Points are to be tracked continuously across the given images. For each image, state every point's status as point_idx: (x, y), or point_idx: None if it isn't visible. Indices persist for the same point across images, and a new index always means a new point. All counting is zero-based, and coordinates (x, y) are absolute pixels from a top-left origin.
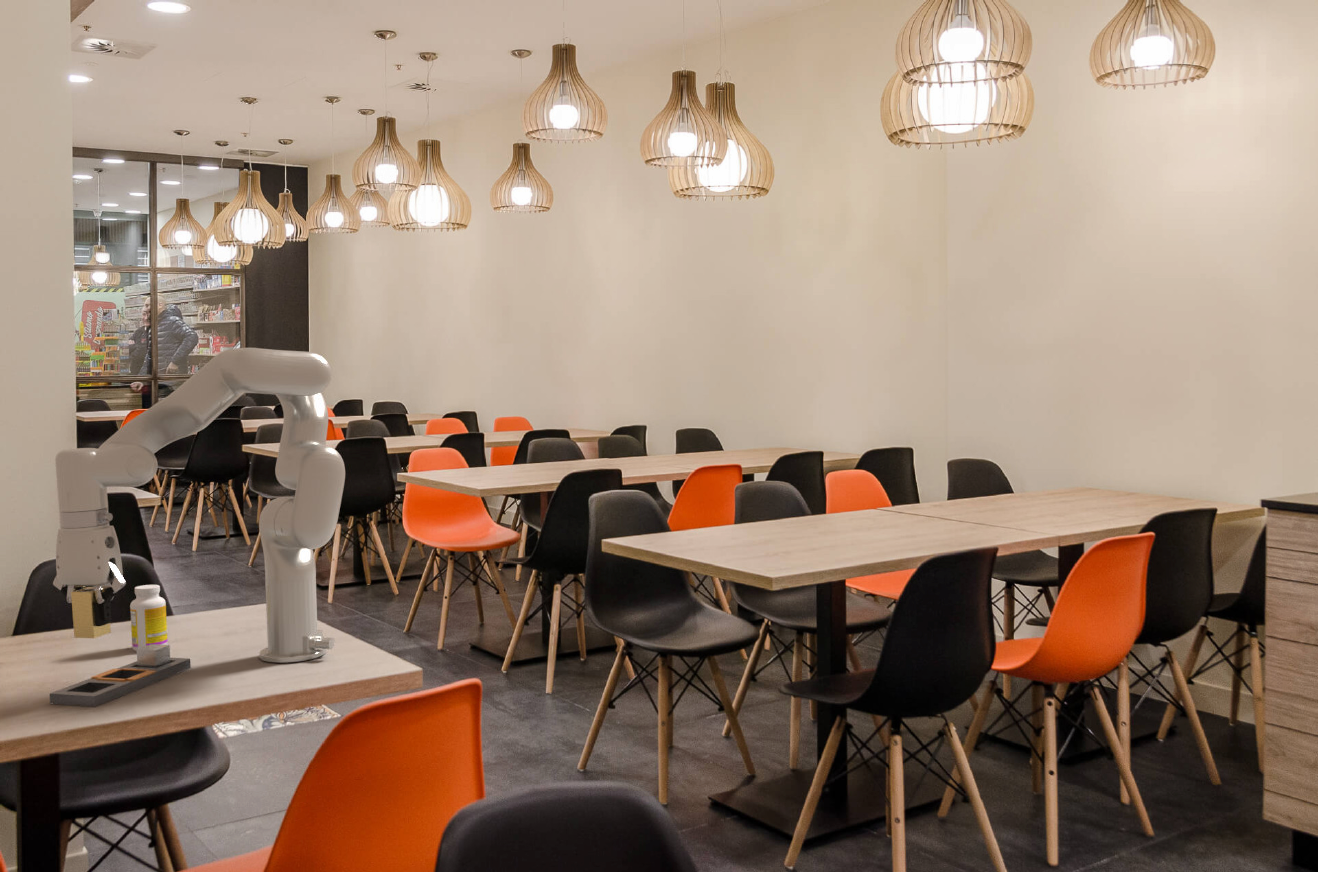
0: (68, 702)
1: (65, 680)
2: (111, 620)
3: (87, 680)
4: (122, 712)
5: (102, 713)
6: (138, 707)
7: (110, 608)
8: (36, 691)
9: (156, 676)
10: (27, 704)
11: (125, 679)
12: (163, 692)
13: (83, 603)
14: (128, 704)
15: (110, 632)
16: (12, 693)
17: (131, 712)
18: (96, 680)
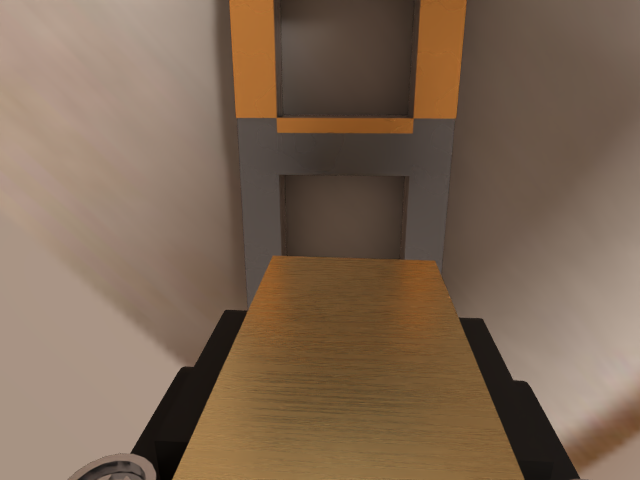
0: None
1: (50, 35)
2: (481, 319)
3: (250, 153)
4: (564, 346)
5: None
6: (589, 294)
7: (557, 443)
8: (82, 192)
9: None
10: (188, 321)
11: (413, 122)
12: (583, 116)
13: None
14: (532, 271)
15: (433, 262)
16: (25, 227)
17: (595, 342)
18: (288, 147)
